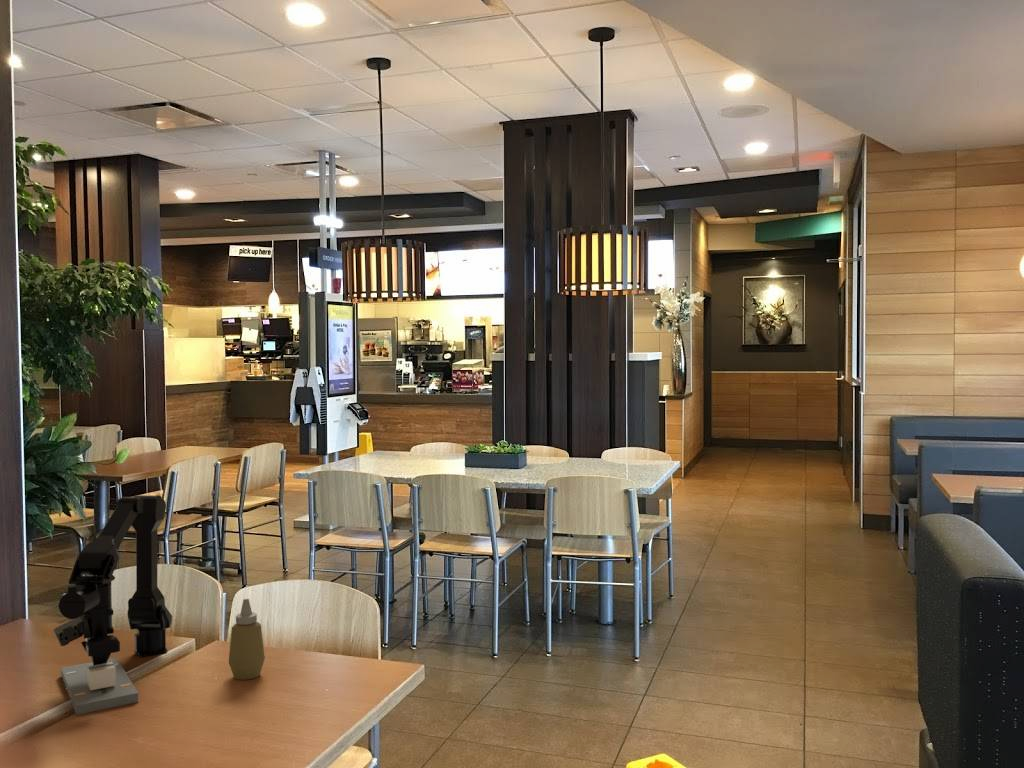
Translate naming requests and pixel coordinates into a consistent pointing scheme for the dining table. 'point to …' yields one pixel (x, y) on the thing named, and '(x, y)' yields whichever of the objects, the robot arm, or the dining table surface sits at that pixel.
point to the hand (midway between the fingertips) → (98, 674)
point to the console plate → (97, 698)
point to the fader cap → (101, 676)
